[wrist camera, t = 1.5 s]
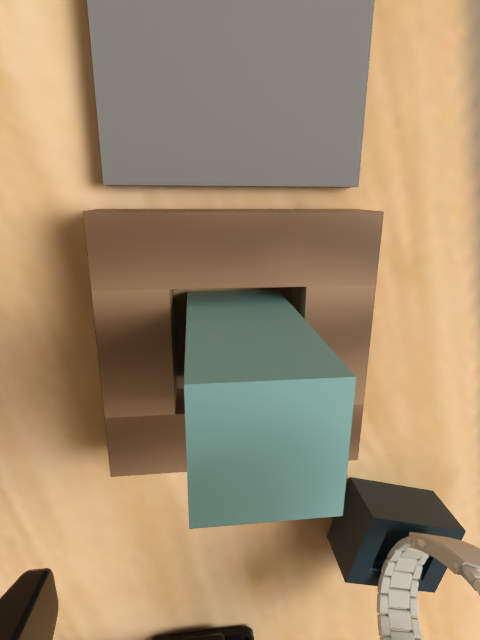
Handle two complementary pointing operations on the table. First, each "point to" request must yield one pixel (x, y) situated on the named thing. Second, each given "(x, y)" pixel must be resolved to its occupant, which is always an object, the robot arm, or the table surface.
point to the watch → (399, 549)
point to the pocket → (208, 273)
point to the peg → (262, 412)
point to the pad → (230, 91)
